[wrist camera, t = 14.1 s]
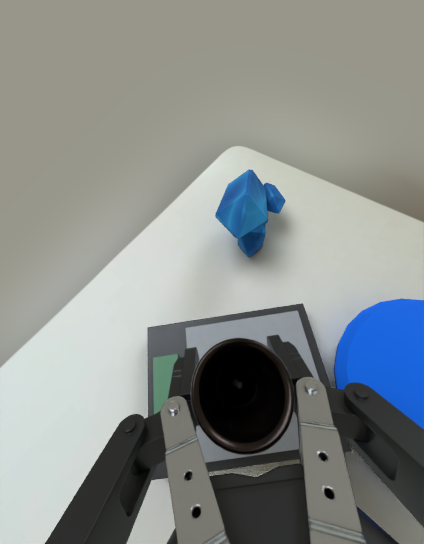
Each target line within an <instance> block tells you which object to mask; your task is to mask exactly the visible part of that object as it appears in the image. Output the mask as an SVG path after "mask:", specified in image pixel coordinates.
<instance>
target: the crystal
mask: <svg viewBox="0 0 424 544" xmlns="http://www.w3.org/2000/svg"><path fill="white" fill-rule="evenodd" d="M284 203H285V199H284V198H283V196H282V195H281V194H280V192H279V191H278V189H277V188H276V187H275V186H274V185H272V184H269V183H265V184H264V186H263V184H262V183H261V181H260V180H259V179H258V177H257V176H256V174H255V173H254V172H253V170H248V171H246V172H245V173H243V174H242V175H241V176H239V177H238V178H236V179H235V180H234V181H232V182H231V183H229V184H228V186H227V189H226V191H225V193H224V196H223V198H222V200H221V203H220V205H219V207H218V210H217V212H216V215H215V217H216V218H217V219H218V220H219V221H220V222H221V223H222V224H223V225H224V226H225V227H226V228H227V229H228V230H229V231H230V233H231V234H232V235H233V236H234V237H236V238H238V246H239V247H240V248H241V249H242V250H243V252H244V253H245V254H246V255H247V256H248V257H250V256H252V255H253V254H254V253H255V252H257V251H258V250H259V249H261V248H262V246H263V241H264V237H265V224H266V223H267V222H268V212H267V211H270V212H273V213H279V212H280V211H281V209H282V207H283V205H284Z"/></svg>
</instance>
